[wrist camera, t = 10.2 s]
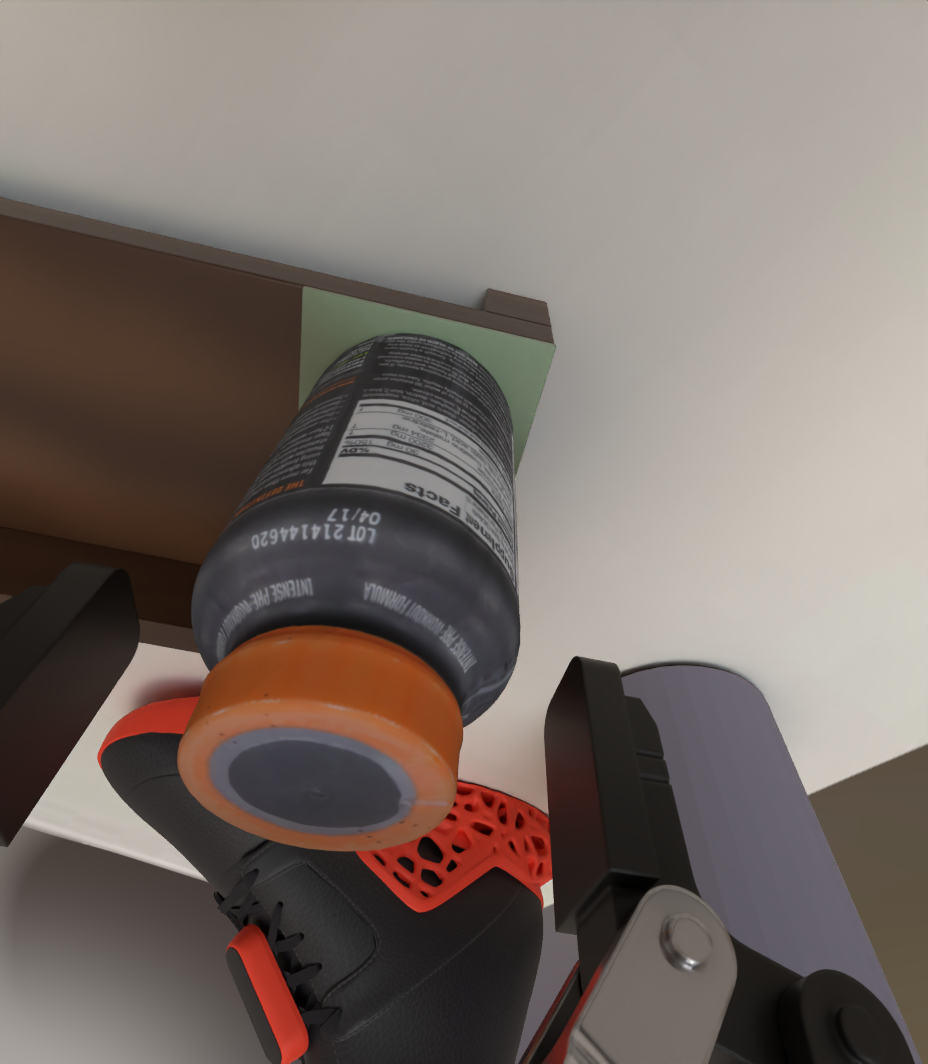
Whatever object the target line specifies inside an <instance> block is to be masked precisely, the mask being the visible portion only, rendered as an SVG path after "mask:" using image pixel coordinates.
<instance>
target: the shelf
mask: <svg viewBox="0 0 928 1064" xmlns="http://www.w3.org/2000/svg"><path fill="white" fill-rule="evenodd" d="M397 333H411V334H422V335H426V336H430V337H434V338H438V339H441V340H444V341H446V342H449V343H451V344H453V345H455V346H457V347H459V348H461V349H463V350H464V351H466V352H467V353H468V354H470V355H471V356H472V357H474V358H475V359H476V360H477V361H478V362H479V363H480V364H481V365H482V366H484V367H485V368H486V369H487V370H488V371H489V372H490V374H491V375H492V376H493V377H494V379H495V380H496V381H497V383H498V385H499V387H500V388H501V390H502V392H503V394H504V396H505V398H506V400H507V403H508V406H509V409H510V413H511V419H512V424H513V448H514V449H513V450H514V474H515V476H516V473H517V470H518V467H519V464H520V460H521V457H522V454H523V451H524V448H525V444H526V441H527V438H528V435H529V432H530V428H531V425H532V422H533V419H534V416H535V412H536V409H537V406H538V403H539V400H540V396H541V393H542V390H543V387H544V384H545V381H546V377H547V374H548V371H549V368H550V365H551V361H552V358H553V355H554V352H555V349H556V345H555V344H554V339H553V334H552V329H551V322H550V317H549V312H548V307H547V303H546V302H543V301H539V300H535V299H531V298H526V297H522V296H518V295H514V294H510V293H505V292H501V291H497V290H493V289H488V290H487V293H486V298H485V302H484V306H483V311H481V310H476V309H472V308H468V307H464V306H459V305H455V304H451V303H447V302H442V301H438V300H434V299H430V298H425V297H421V296H417V295H413V294H408V293H404V292H400V291H396V290H391V289H387V288H383V287H379V286H374V285H370V284H366V283H362V282H357V281H353V280H349V279H345V278H340V277H336V276H332V275H328V274H323V273H319V272H315V271H311V270H306V269H302V268H298V267H294V266H289V265H285V264H281V263H277V262H272V261H268V260H264V259H260V258H255V257H251V256H247V255H243V254H238V253H234V252H230V251H226V250H221V249H217V248H213V247H209V246H204V245H200V244H196V243H192V242H187V241H183V240H179V239H175V238H170V237H166V236H162V235H158V234H153V233H149V232H145V231H141V230H136V229H132V228H128V227H124V226H119V225H115V224H111V223H107V222H102V221H98V220H94V219H90V218H85V217H81V216H77V215H73V214H68V213H64V212H60V211H56V210H51V209H47V208H43V207H39V206H34V205H30V204H26V203H22V202H17V201H13V200H9V199H5V198H0V604H1V603H2V602H4V601H6V600H8V599H9V598H11V597H13V596H15V595H17V594H18V593H20V592H22V591H24V590H25V589H27V588H29V587H31V586H33V585H39V586H45V587H48V586H49V585H50V584H51V583H52V581H53V580H54V579H55V578H56V577H57V576H58V575H59V574H60V573H61V572H62V571H63V570H64V569H65V568H66V567H67V566H68V565H69V564H71V563H72V562H74V561H84V562H90V563H95V564H100V565H106V566H111V567H116V568H121V569H125V570H126V571H127V572H128V574H129V576H130V580H131V585H132V590H133V595H134V600H135V604H136V609H137V614H138V619H139V624H140V638H139V642H141V643H146V644H152V645H158V646H163V647H169V648H174V649H180V650H185V651H191V652H197V653H200V652H199V650H198V647H197V645H196V642H195V638H194V634H193V628H192V619H191V603H192V594H193V588H194V584H195V582H196V577H197V575H198V572H199V570H200V568H201V566H202V564H203V562H204V560H205V558H206V556H207V555H208V553H209V551H210V550H211V548H212V547H213V545H214V544H215V542H216V541H217V539H218V538H219V536H220V535H221V533H222V531H223V530H224V528H225V526H226V525H227V523H228V521H229V520H230V519H231V517H232V516H233V514H234V512H235V511H236V509H237V508H238V506H239V504H240V503H241V501H242V500H243V498H244V497H245V495H246V494H247V492H248V490H249V489H250V487H251V486H252V484H253V483H254V481H255V479H256V478H257V476H258V475H259V473H260V472H261V470H262V468H263V466H264V465H265V463H266V462H267V460H268V459H269V457H270V455H271V454H272V452H273V451H274V449H275V448H276V446H277V444H278V443H279V441H280V440H281V438H282V437H283V435H284V433H285V432H286V430H287V429H288V427H289V425H290V423H291V422H292V421H293V419H294V418H295V416H296V415H297V413H298V412H299V410H300V408H301V407H302V405H303V403H304V402H305V400H306V398H307V397H308V396H309V394H310V392H311V390H312V388H313V387H314V385H315V383H316V382H317V381H318V380H319V379H320V377H321V376H322V374H323V373H324V371H325V370H326V369H327V368H328V367H329V366H330V365H331V364H332V363H333V362H334V361H335V360H336V359H337V358H338V357H339V356H340V355H341V354H342V353H344V352H345V351H346V350H347V349H349V348H351V347H353V346H355V345H357V344H359V343H361V342H364V341H366V340H368V339H371V338H373V337H376V336H381V335H388V334H397Z"/></svg>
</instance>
